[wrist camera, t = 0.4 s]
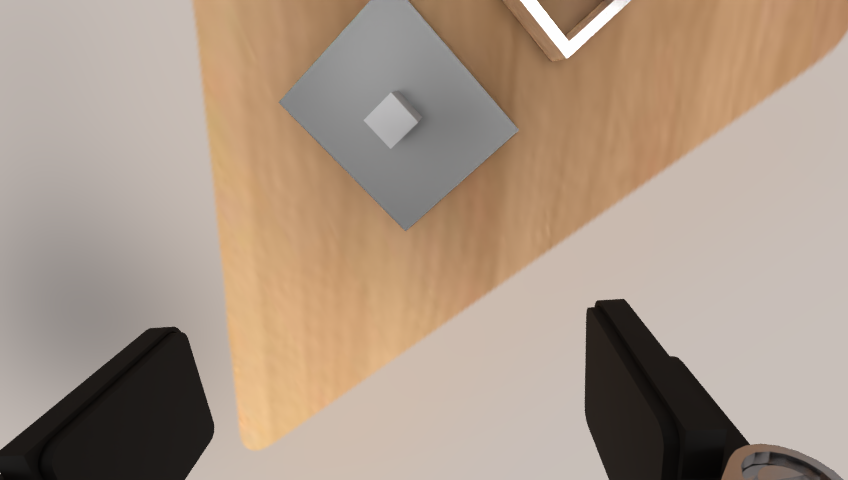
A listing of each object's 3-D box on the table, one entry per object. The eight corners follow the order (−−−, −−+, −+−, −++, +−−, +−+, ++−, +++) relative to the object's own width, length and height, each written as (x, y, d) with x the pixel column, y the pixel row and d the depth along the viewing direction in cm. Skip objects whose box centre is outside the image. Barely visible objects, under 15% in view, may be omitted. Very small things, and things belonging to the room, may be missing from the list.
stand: (392, -17, 33) (379, -37, 28) (516, 128, 36) (528, 137, 30) (285, 101, 36) (254, 105, 31) (407, 225, 39) (399, 250, 34)
